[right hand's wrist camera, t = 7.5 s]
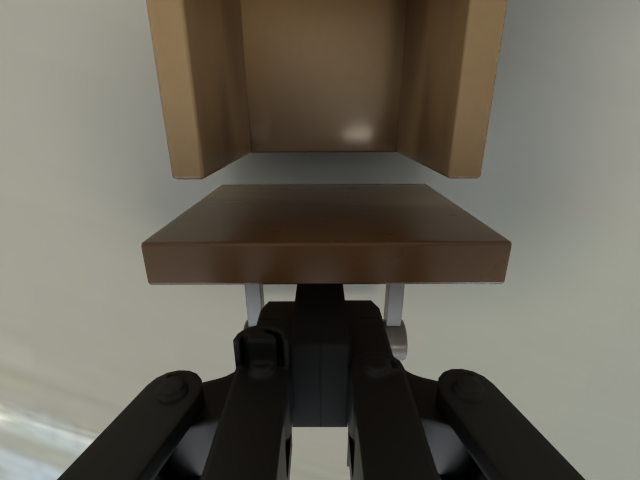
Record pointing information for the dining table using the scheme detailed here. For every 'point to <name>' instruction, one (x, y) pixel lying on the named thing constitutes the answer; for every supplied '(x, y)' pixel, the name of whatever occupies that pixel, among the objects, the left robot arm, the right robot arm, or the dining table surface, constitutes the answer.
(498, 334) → the dining table surface
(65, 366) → the dining table surface
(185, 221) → the drawer
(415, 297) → the dining table surface
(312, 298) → the right robot arm
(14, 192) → the dining table surface
